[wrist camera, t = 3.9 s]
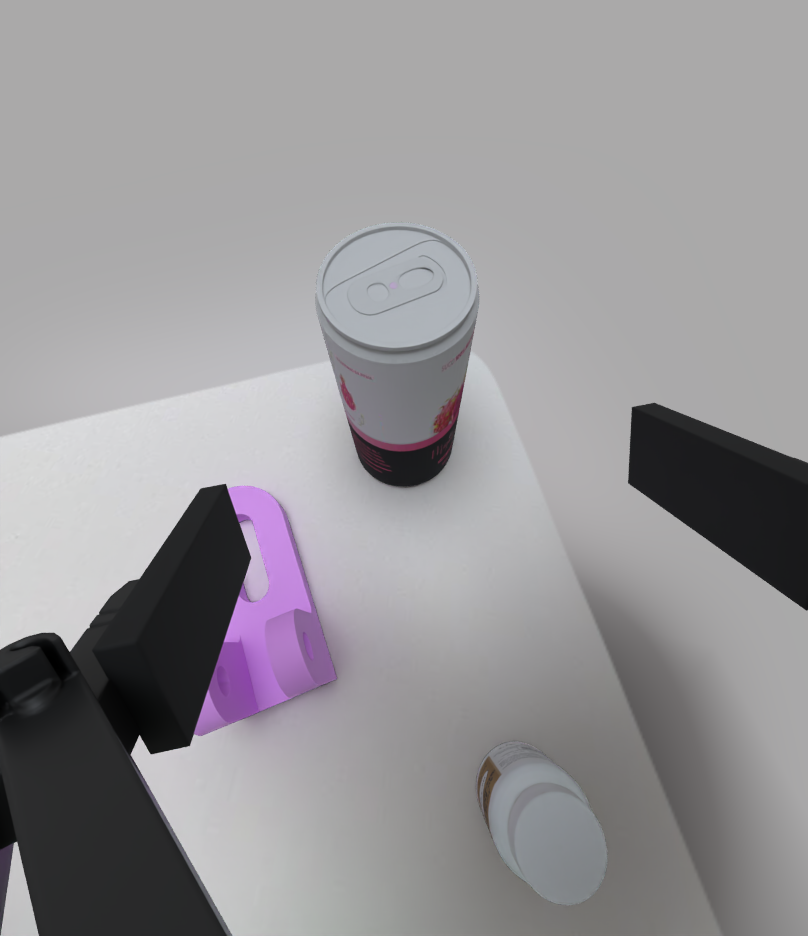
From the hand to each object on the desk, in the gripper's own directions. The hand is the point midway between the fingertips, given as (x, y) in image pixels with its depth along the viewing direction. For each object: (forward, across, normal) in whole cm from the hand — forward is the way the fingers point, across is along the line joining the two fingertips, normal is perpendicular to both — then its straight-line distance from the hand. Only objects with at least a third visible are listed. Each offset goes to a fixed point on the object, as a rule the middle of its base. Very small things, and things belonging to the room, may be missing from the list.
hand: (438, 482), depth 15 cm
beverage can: (+16, 0, -5) cm, 17 cm away
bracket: (+11, -10, -10) cm, 18 cm away
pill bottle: (+2, +2, -19) cm, 20 cm away
